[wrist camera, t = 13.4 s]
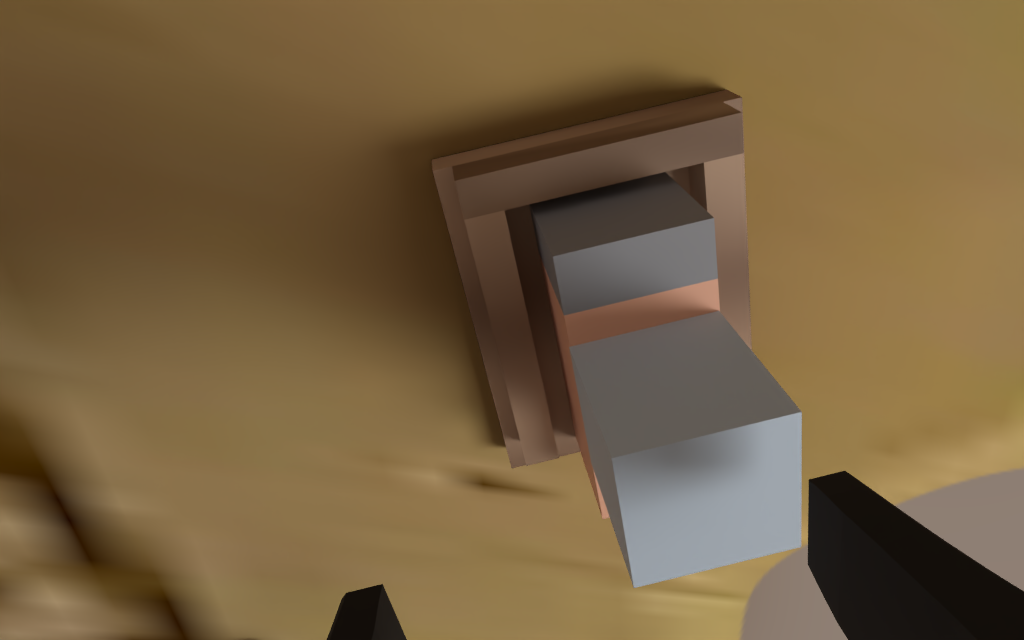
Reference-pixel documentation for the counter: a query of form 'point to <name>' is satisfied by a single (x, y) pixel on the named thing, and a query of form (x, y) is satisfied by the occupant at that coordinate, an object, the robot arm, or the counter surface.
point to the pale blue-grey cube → (690, 447)
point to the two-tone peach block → (622, 268)
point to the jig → (514, 252)
